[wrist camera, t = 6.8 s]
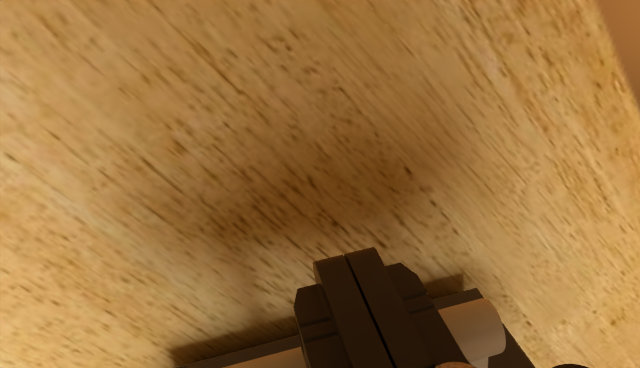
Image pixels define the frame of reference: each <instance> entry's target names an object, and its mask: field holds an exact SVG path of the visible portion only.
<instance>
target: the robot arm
mask: <svg viewBox="0 0 640 368" xmlns="http://www.w3.org/2000/svg"><path fill="white" fill-rule="evenodd" d="M313 268H314V275H315V282H316V284H315V285H311V286H307V287H303V288H299V289H298V290H297V294H296V298H295V303H294V312H295V318H296V323H297V329H298V334H299V339H300V345H301V350H302V354H303V357H304V361H305V364H306V368H477V367H475V366H473V365H471V364H470V363H469V362H468V360H467V359H466V357H465V356H464V354H463V353H462V351H461V349H460V347H459V346H458V344H457V342H456V341H455V339H454V337H453V335H452V334H451V332H450V330H449V329H448V327H447V325H446V324H445V322H444V320H443V318H442V317H441V315H440V313H439V312H438V310H437V308H435V306H434V303H433V301H432V300H431V298H430V296H429V295H428V294H427V291H426V289H425V288H424V286H423V284H422V283H421V281H420V279H419V277H418V276H417V275H416V274H415V273H414V272H412V271H411V270H410V269H408V268H407V267H406V266H404V265H403V264H402V263H397V264H393V265H389V266H385V265H384V264H383V262H382V260H381V258H380V256H379V254H378V252H377V250H376V249H375V248H374V247H371V248H367V249H363V250H359V251H355V252H351V253H347V254H344V256H343V255H339V256H335V257H331V258H327V259H323V260H319V261H315V262H313ZM553 368H588V367H585V366H581V365H576V364H563V365H558V366H555V367H553Z"/></svg>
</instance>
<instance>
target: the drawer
mask: <svg viewBox="0 0 640 368" xmlns="http://www.w3.org/2000/svg"><path fill="white" fill-rule="evenodd" d="M432 301H433V303H434V306H435V308H437V310H438V312H439V313H440V315H441V317H442V318H443V320H444V322H445V324H446V325H447V327H448V329H449V330H450V332H451V334H452V335H453V337H454V339H455V341H456V342H457V344H458V346H459V347H460V349H461V351H462V353H463V354H464V356H465V357H466V359H467V360H468V362H469V363H470V364H471V365H473V366H475V367H477V368H535V367H534V365H533V364H532V362H531V361H530V360H529V358H528V357H527V356H526V354H525V353H524V352H523V350H522V349H521V347H520V346H519V345H518V343H517V342H516V341H515V339H514V338H513V337H512V335H511V334H510V332H509V331H508V330H507V328H506V327H505V326H504V324H503V323H502V322H501V319H500V317H499V315H498V313H497V311H496V309H495V308H494V306H493V305H492V304H491V302H490V301H488V300H487V299H485V298H484V297H483V296H482V294H481V293H480V291H479V290H478V289H477V288H474V289H470V290H466V291H462V292H459V293H455V294H451V295H447V296H443V297H440V298H436V299H432ZM175 368H306V364H305V361H304V357H303V354H302V350H301V345H300V339H299V335H296V336H292V337H288V338H285V339H281V340H277V341H273V342H269V343H266V344H262V345H258V346H254V347H251V348H247V349H243V350H239V351H235V352H232V353H228V354H224V355H220V356H216V357H213V358H209V359H205V360H201V361H198V362H194V363H190V364H186V365H182V366H179V367H175Z"/></svg>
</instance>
